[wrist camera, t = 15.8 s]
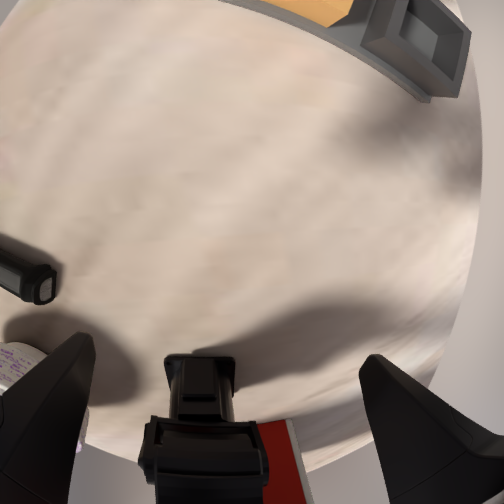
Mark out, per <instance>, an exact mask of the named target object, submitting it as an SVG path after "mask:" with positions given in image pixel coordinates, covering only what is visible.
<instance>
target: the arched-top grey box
mask: <svg viewBox="0 0 504 504" xmlns="http://www.w3.org/2000/svg"><path fill="white" fill-rule="evenodd" d="M257 427H258V430H259V433H260V436H261V438H262V441H263V444H264V447H265V450H266V453H267V456H268V461H269V481H268V484H267V486H266V487H263V504H314V501H313V497H312V493H311V490H310V486H309V483H308V479H307V475H306V471H305V467H304V464H303V460H302V456H301V453H300V449H299V445H298V441H297V438H296V434H295V430H294V427H293V423H292V420H291V419H286V420H279V421H274V422H268V423H263V424H257Z"/></svg>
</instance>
